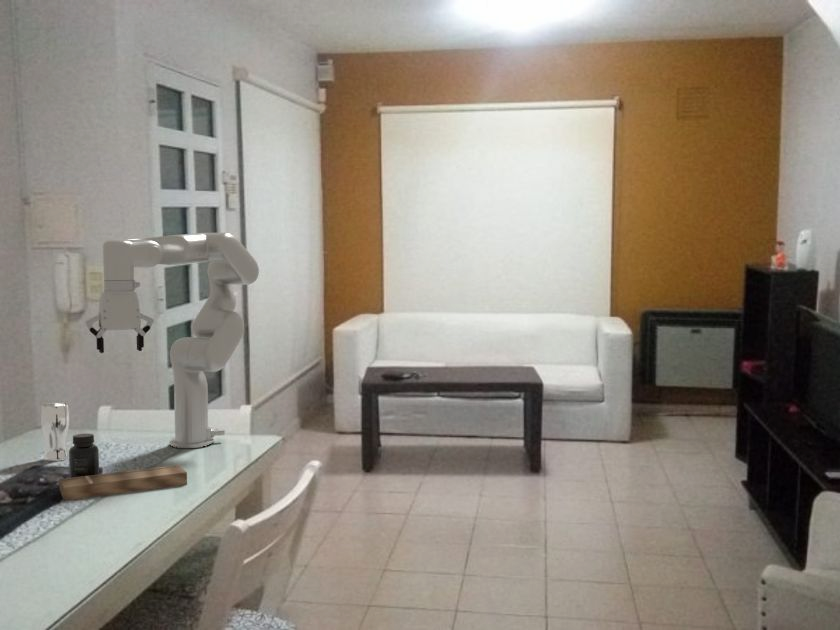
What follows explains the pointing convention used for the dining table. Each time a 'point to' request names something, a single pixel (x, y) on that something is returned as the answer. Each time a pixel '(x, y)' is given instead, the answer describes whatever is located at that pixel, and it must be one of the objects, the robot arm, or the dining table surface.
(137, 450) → the dining table surface
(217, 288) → the robot arm
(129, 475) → the walnut plank
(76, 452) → the supplement bottle
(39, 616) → the dining table surface
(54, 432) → the beer glass
